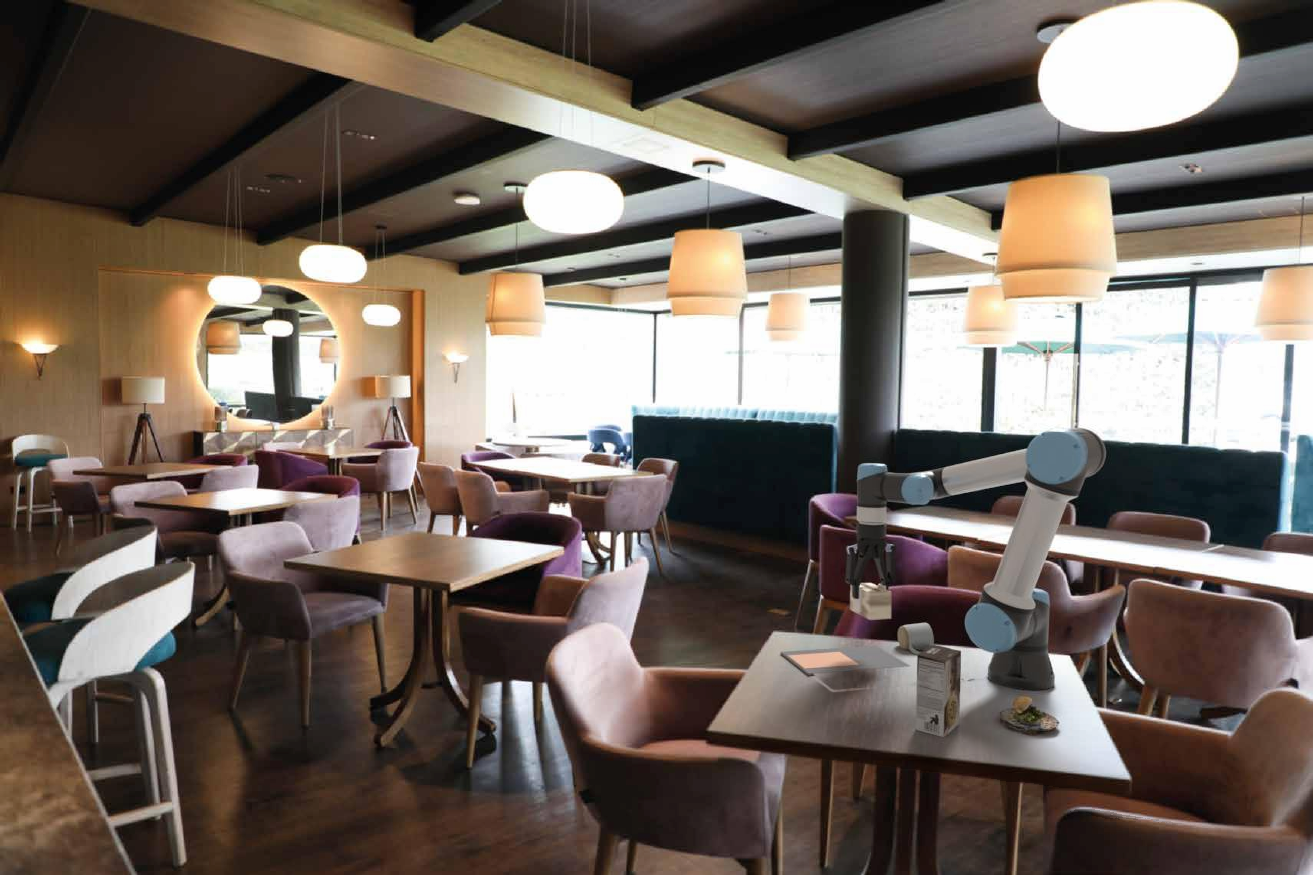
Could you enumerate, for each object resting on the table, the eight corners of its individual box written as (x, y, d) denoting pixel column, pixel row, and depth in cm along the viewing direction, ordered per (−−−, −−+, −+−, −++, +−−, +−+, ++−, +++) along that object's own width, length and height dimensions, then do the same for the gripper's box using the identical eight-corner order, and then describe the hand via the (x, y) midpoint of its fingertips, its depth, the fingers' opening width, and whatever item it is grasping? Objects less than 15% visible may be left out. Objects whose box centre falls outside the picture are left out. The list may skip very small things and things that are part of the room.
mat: (910, 668, 218) (910, 665, 218) (808, 675, 211) (808, 673, 211) (875, 647, 235) (875, 644, 235) (780, 654, 228) (780, 651, 228)
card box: (891, 618, 219) (891, 591, 219) (869, 619, 218) (870, 592, 217) (870, 608, 230) (870, 582, 230) (849, 609, 228) (850, 583, 228)
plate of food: (1039, 741, 173) (1041, 705, 172) (987, 723, 182) (988, 688, 182) (1070, 728, 180) (1071, 693, 179) (1018, 711, 189) (1019, 678, 189)
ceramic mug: (895, 646, 236) (896, 620, 236) (922, 645, 237) (923, 619, 237) (911, 658, 226) (912, 631, 226) (939, 657, 227) (940, 630, 227)
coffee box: (930, 717, 185) (932, 643, 184) (960, 724, 181) (962, 649, 180) (913, 729, 178) (915, 653, 177) (944, 738, 174) (946, 660, 173)
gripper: (896, 519, 229) (895, 604, 230) (831, 521, 224) (830, 608, 225) (911, 523, 221) (910, 611, 222) (844, 525, 217) (843, 615, 218)
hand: (870, 609), depth 224 cm, fingers closed on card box, 6 cm apart
